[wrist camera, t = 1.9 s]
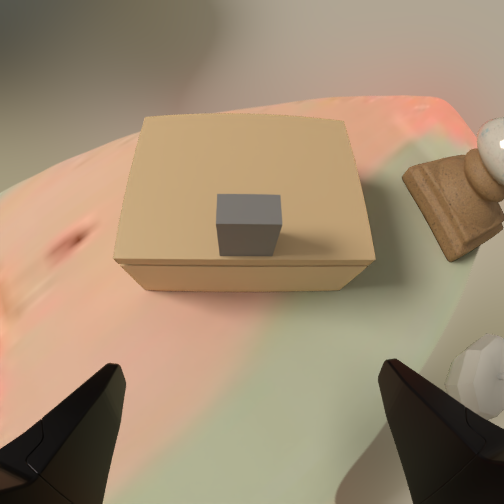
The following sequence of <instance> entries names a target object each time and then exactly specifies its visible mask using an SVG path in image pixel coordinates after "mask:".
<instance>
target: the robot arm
mask: <svg viewBox="0 0 504 504" xmlns="http://www.w3.org/2000/svg"><path fill="white" fill-rule="evenodd" d="M378 383H379V387H380V391H381V396H382V400H383V404H384V409H385V413H386V417H387V420H388V423H389V426H390V429H391V432H392V435H393V438H394V441H395V444H396V447H397V450H398V454H399V457H400V460H401V463H402V466H403V470H404V473H405V476H406V480H407V483H408V487H409V490H410V493H411V497H412V501H413V504H504V429H502V428H500V427H499V426H497V425H495V424H493V423H491V422H490V421H488V420H486V419H484V418H483V417H481V416H480V415H478V414H476V413H475V412H473V411H472V410H470V409H469V408H467V407H465V406H464V405H463V404H461V403H460V402H459V401H457V400H456V399H454V398H453V397H451V396H450V395H448V394H447V393H445V392H444V391H443V390H441V389H440V388H438V387H437V386H435V385H434V384H432V383H431V382H429V381H428V380H426V379H425V378H424V377H422V376H421V375H419V374H418V373H416V372H415V371H413V370H412V369H411V368H409V367H408V366H406V365H405V364H403V363H402V362H400V361H399V360H397V359H388V360H385V361H384V363H383V366H382V368H381V371H380V373H379V376H378ZM125 389H126V381H125V378H124V375H123V372H122V369H121V366H120V365H119V364H114V363H108V364H106V365H105V366H104V367H102V368H101V369H100V370H99V371H98V372H96V373H95V374H94V375H93V376H92V377H91V378H89V379H88V380H87V381H86V382H85V383H83V384H82V385H81V386H80V387H79V388H77V389H76V390H75V391H74V392H73V393H71V394H70V395H69V396H68V397H67V398H65V399H64V400H63V401H62V402H61V403H59V404H58V405H57V406H56V407H55V408H54V409H52V410H51V411H50V412H49V413H48V414H46V415H45V416H44V417H43V418H42V420H41V419H40V420H39V421H38V422H37V423H36V424H34V425H33V426H32V427H31V428H29V429H28V430H27V431H26V432H24V433H23V434H22V435H20V436H19V437H17V438H16V439H14V440H13V441H11V442H10V443H8V444H7V445H5V446H4V447H2V448H1V449H0V504H103V498H104V493H105V488H106V483H107V479H108V474H109V469H110V465H111V460H112V456H113V452H114V448H115V444H116V440H117V436H118V432H119V428H120V423H121V416H122V409H123V402H124V396H125Z"/></svg>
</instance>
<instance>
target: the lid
mask: <svg viewBox="0 0 504 504" xmlns="http://www.w3.org/2000/svg"><path fill="white" fill-rule="evenodd" d="M113 259H114V260H115V261H116V262H117V263H118V264H146V265H370V264H371V263H372V262H373V261H375V260H376V259H375V253H374V247H373V241H372V236H371V230H370V225H369V220H368V215H367V210H366V205H365V201H364V196H363V192H362V187H361V183H360V179H359V175H358V171H357V167H356V163H355V159H354V155H353V152H352V148H351V144H350V141H349V137H348V134H347V130H346V127H345V124H344V121H340V120H332V119H322V118H312V117H301V116H288V115H270V114H235V113H217V114H183V115H166V116H152V117H145V119H144V123H143V126H142V129H141V133H140V136H139V139H138V143H137V147H136V150H135V154H134V158H133V162H132V166H131V170H130V174H129V178H128V182H127V186H126V191H125V195H124V200H123V205H122V210H121V215H120V220H119V225H118V231H117V237H116V243H115V249H114V256H113Z"/></svg>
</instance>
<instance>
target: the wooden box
mask: <svg viewBox="0 0 504 504" xmlns="http://www.w3.org/2000/svg"><path fill="white" fill-rule="evenodd" d="M120 266H121V267H122V268H123V269H124V270H125V271H126V272H127V273H128V274H129V275H130V276H131V277H132V278H133V279H134V280H135V281H136V282H137V283H138V284H139V285H140V286H141V287H142V288H144V289H145V290H157V291H205V292H286V291H334V290H340V289H341V288H343V287H344V286H345V285H346V284H348V283H349V282H350V281H351V280H352V279H354V278H355V277H356V276H357V275H358V274H359V273H361V272H362V271H363V270H364V269H365V268H367V267H368V266H367V265H146V264H120Z"/></svg>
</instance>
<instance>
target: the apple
mask: <svg viewBox="0 0 504 504" xmlns="http://www.w3.org/2000/svg"><path fill="white" fill-rule="evenodd" d="M445 387H446V391H447V394H448V395H450V396H451V397H453V398H454V399H456V400H457V401H459V402H460V403H461V404H463V405H464V406H465V407H467V408H469V409H470V410H472V411H473V412H475V413H476V414H478V415H480V416H481V417H483V418H484V419H486V420H489V419H492V418H494V417H497V416H498V415H499V414H500V413H501V412H502V411H503V410H504V338H502V337H500V336H498V335H493V334H487V333H486V334H485V335H484V336H482V337H481V338H479V339H478V340H477V341H475V342H474V343H473V344H471V345H470V346H469V347H468V348H466V349H465V350H464V351H463V352H462V353H460V354H459V355H458V356H456V358H455V359H454V360H453V362H452V363H451V366H450V369H449V373H448V376H447V379H446V382H445Z"/></svg>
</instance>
